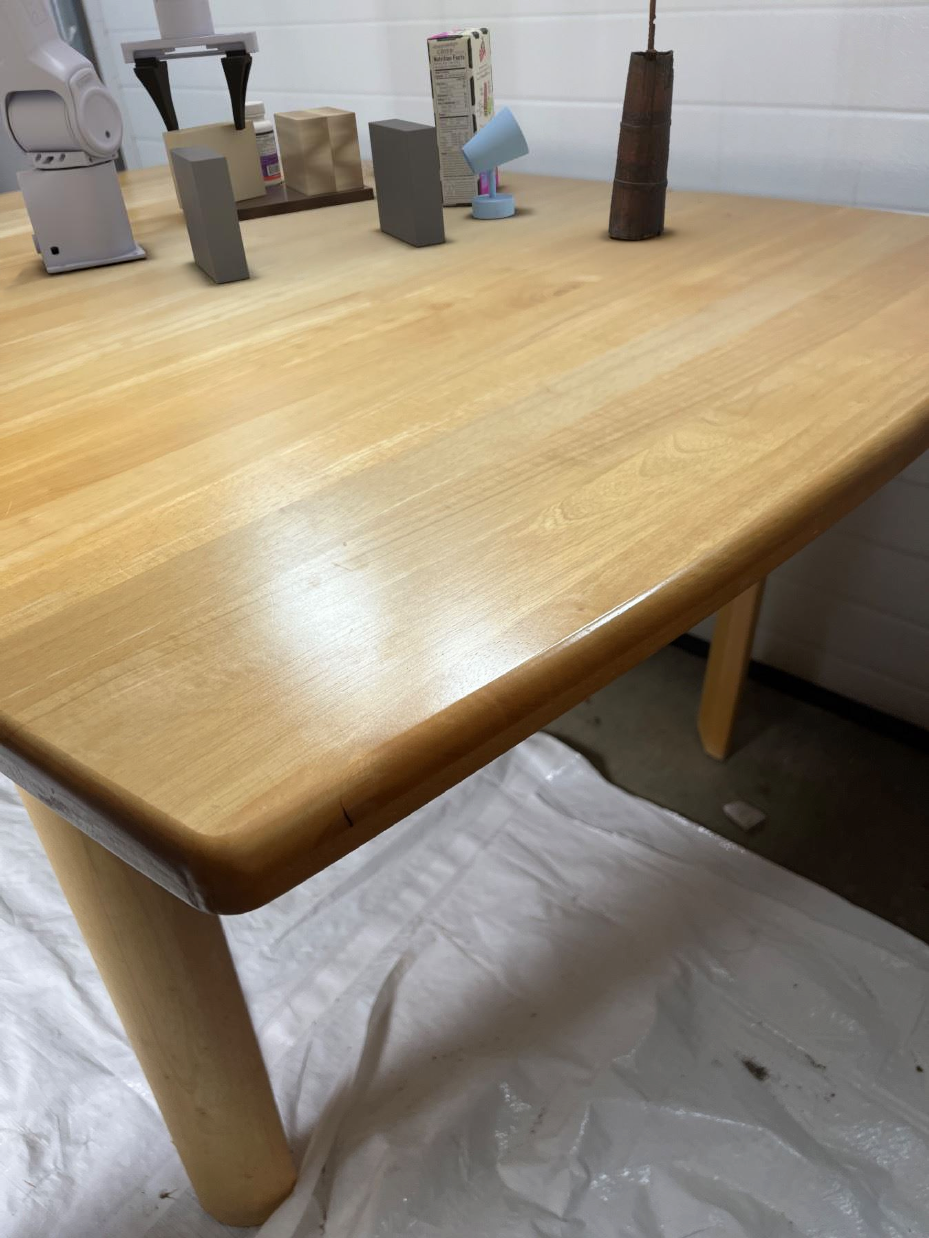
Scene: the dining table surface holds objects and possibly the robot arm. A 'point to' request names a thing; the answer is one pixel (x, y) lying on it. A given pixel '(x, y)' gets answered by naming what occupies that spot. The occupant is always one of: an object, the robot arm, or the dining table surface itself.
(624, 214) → the butter churn
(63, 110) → the robot arm
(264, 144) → the pill bottle
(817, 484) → the dining table surface
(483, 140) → the spotlight
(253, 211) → the shelf board
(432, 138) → the grey books
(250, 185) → the cream book
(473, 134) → the candy bar box
